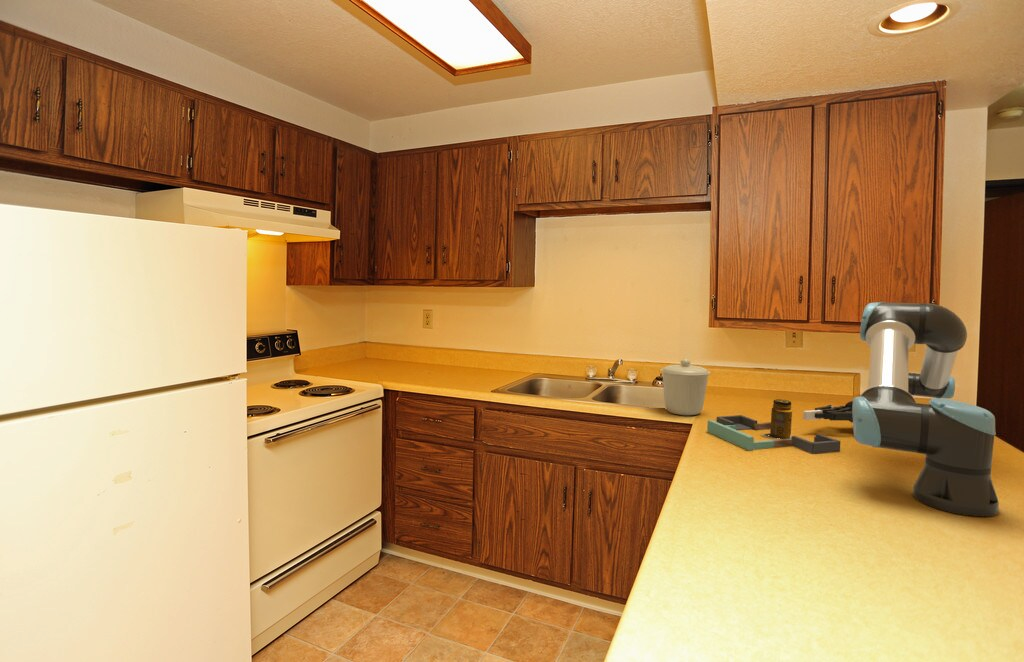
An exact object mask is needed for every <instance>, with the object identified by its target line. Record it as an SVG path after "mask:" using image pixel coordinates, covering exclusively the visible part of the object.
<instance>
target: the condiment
mask: <svg viewBox="0 0 1024 662" xmlns="http://www.w3.org/2000/svg"><path fill="white" fill-rule="evenodd" d="M772 403H773V404H772V408H771V414H770V422H771V428H770V429H769V433H765V434H761V437H765V438H767V439H770V440H779V439H777V438H780V439H791V436H792V435H791V434H792V420H793V410H792V401H790V400H787V399H781V398H780V399H774V400H773V402H772ZM768 435H769V436H768Z"/></svg>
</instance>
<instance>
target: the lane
mask: <svg viewBox="0 0 1024 662" xmlns="http://www.w3.org/2000/svg"><path fill="white" fill-rule="evenodd" d="M770 428H771V421H769V422H757V424H754V425H753V429H752V430H754V431H759V430H761V431H763V430H770ZM816 438H817V437H816V436H814V437H813V442H815V441H816V440H815V439H816ZM771 440H772V441H774V447H775V448H784V447H785V448H786V447H793V446H792V445H793V440H792V439H779V440H775V439H771Z"/></svg>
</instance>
